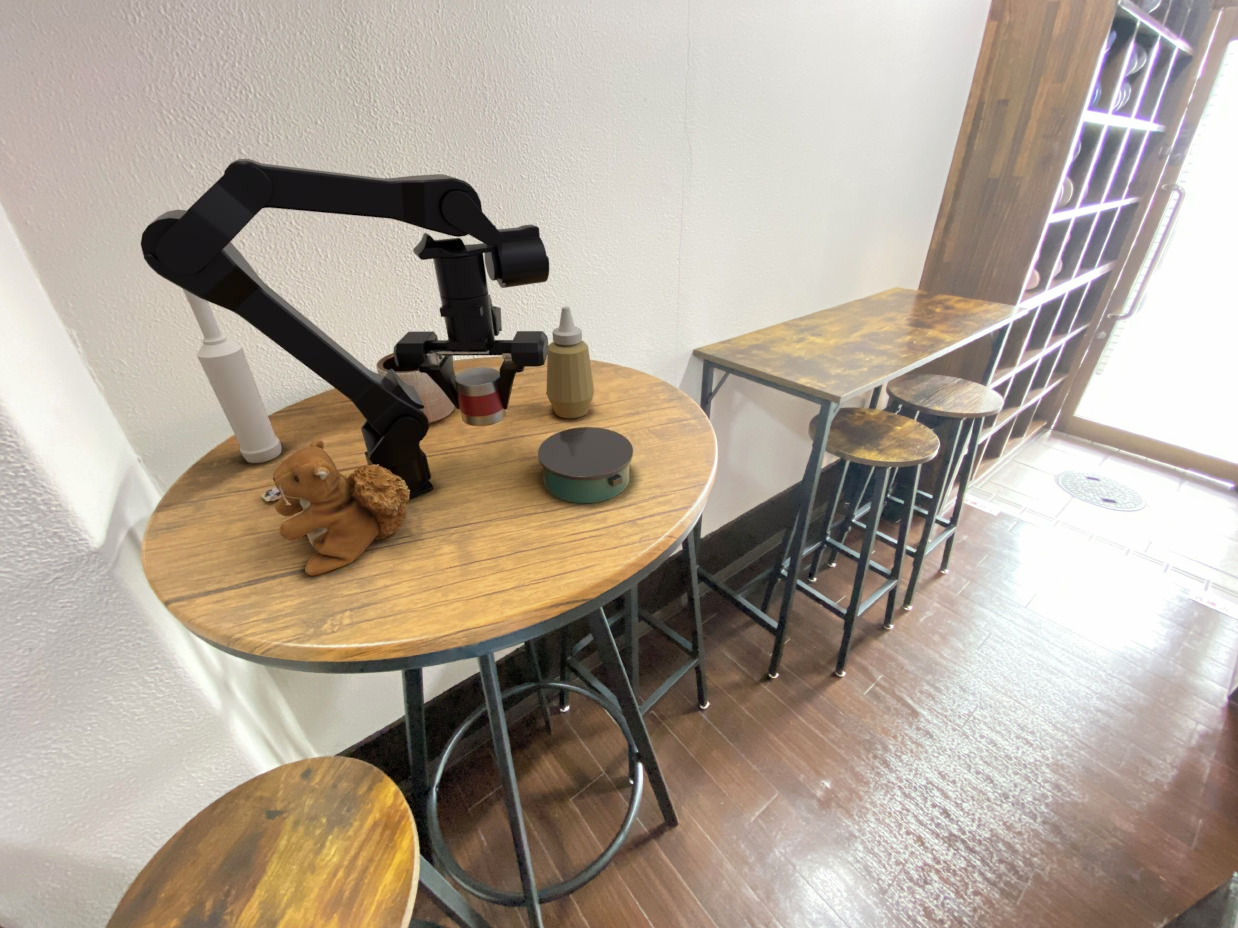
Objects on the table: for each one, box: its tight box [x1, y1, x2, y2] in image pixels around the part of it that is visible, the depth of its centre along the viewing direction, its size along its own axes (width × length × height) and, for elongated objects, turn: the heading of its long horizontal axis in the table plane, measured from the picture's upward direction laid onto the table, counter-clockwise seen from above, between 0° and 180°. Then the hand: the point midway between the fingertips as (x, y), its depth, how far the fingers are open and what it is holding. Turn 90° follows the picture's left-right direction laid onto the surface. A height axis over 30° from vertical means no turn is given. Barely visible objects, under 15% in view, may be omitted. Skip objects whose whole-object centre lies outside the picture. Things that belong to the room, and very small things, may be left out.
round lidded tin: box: [537, 426, 634, 504], centre depth 74 cm, size 13×14×5 cm
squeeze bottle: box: [545, 306, 595, 419], centre depth 87 cm, size 8×8×18 cm
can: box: [454, 366, 507, 427], centre depth 72 cm, size 6×6×6 cm
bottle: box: [181, 288, 283, 464], centre depth 74 cm, size 5×5×25 cm
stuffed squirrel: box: [272, 438, 410, 577], centre depth 61 cm, size 10×14×13 cm
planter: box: [375, 352, 456, 425], centre depth 89 cm, size 11×11×10 cm
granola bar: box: [260, 486, 282, 502], centre depth 72 cm, size 7×2×1 cm, turn 140°
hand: (483, 408), depth 73 cm, fingers closed on can, 6 cm apart
